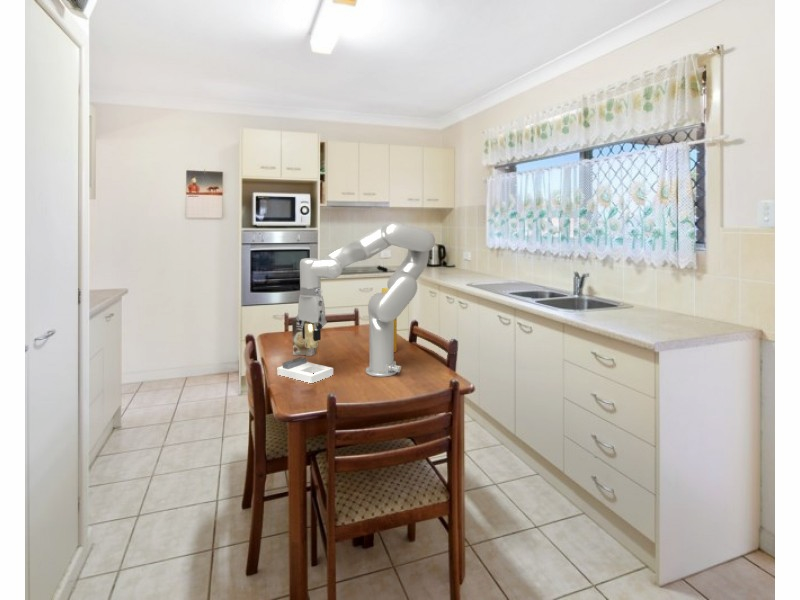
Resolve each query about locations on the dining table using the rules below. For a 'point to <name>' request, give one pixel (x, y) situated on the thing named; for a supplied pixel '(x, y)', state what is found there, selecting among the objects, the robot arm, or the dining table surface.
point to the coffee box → (300, 341)
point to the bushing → (310, 335)
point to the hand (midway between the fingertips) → (311, 338)
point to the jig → (304, 370)
